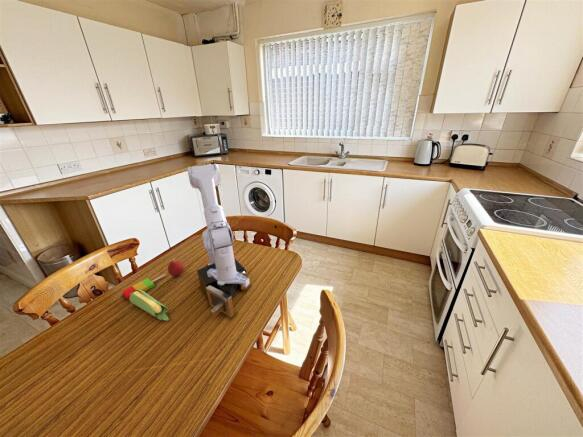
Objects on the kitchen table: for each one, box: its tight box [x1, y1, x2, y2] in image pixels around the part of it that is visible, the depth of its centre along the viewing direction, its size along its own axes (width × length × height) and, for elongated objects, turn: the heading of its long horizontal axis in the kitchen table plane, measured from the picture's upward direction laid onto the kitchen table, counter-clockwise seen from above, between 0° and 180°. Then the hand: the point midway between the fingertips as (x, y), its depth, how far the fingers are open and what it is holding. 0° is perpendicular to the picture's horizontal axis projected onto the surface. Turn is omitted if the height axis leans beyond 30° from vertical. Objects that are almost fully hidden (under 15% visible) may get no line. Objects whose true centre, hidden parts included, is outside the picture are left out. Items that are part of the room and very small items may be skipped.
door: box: [206, 285, 235, 318], centre depth 76 cm, size 6×10×8 cm, turn 57°
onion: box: [167, 258, 185, 277], centre depth 94 cm, size 6×6×8 cm
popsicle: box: [122, 273, 167, 301], centre depth 91 cm, size 6×15×2 cm, turn 144°
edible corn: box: [128, 290, 170, 321], centre depth 79 cm, size 5×20×5 cm, turn 59°
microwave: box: [196, 257, 250, 298], centre depth 87 cm, size 12×14×8 cm
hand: (231, 297), depth 78 cm, fingers closed
